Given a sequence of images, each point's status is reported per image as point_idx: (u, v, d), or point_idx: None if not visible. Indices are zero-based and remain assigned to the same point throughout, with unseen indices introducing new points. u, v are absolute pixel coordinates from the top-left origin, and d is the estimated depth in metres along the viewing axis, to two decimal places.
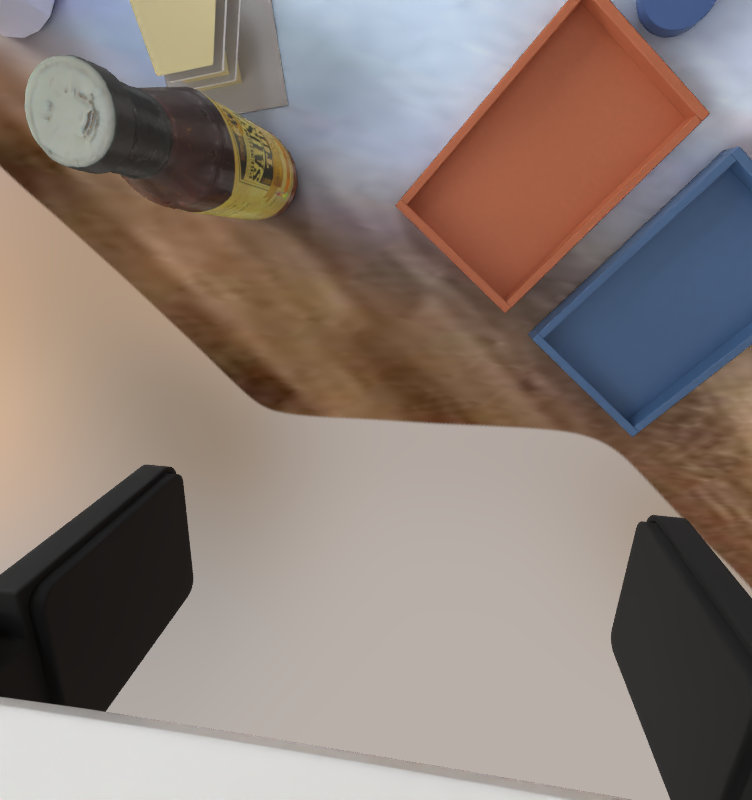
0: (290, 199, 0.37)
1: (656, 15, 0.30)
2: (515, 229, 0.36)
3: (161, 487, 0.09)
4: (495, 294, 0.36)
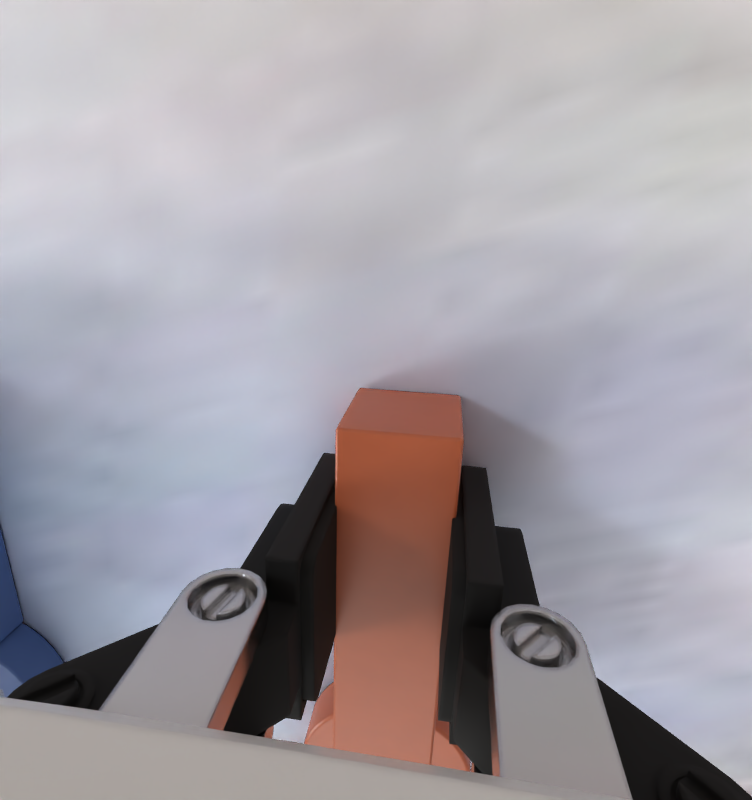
0: None
1: None
2: None
3: None
4: None
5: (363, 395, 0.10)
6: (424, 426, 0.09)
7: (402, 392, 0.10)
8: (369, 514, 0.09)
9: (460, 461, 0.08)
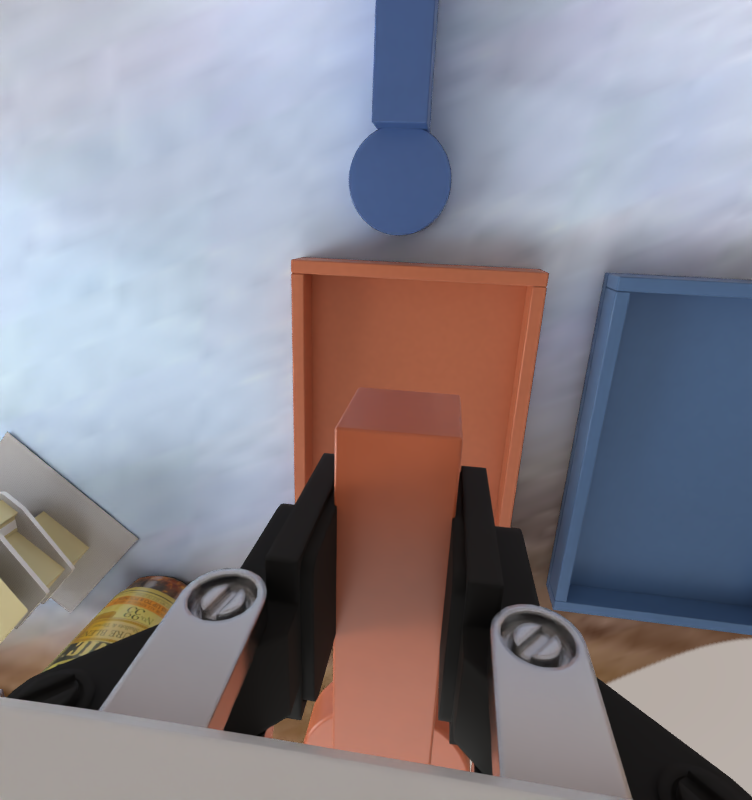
0: None
1: (396, 227, 0.22)
2: None
3: None
4: None
5: (363, 395, 0.10)
6: (423, 425, 0.09)
7: (401, 391, 0.10)
8: (368, 513, 0.09)
9: (459, 460, 0.08)
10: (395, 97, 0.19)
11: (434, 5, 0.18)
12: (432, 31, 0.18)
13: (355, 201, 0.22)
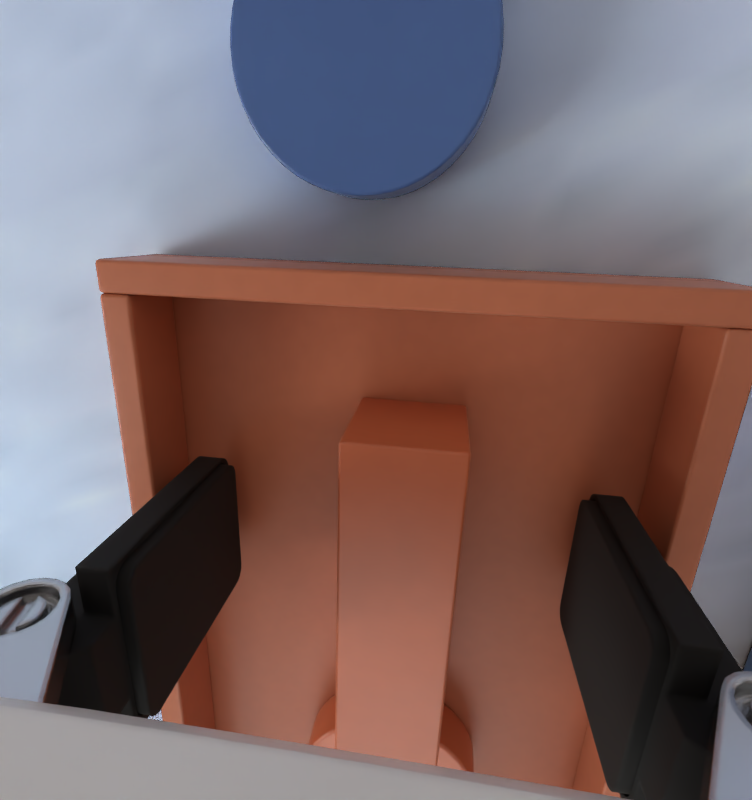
0: None
1: (359, 173, 0.08)
2: None
3: (218, 477, 0.10)
4: None
5: (367, 405, 0.10)
6: (430, 439, 0.08)
7: (406, 402, 0.10)
8: (373, 529, 0.09)
9: (467, 476, 0.08)
10: None
11: None
12: None
13: (250, 107, 0.08)
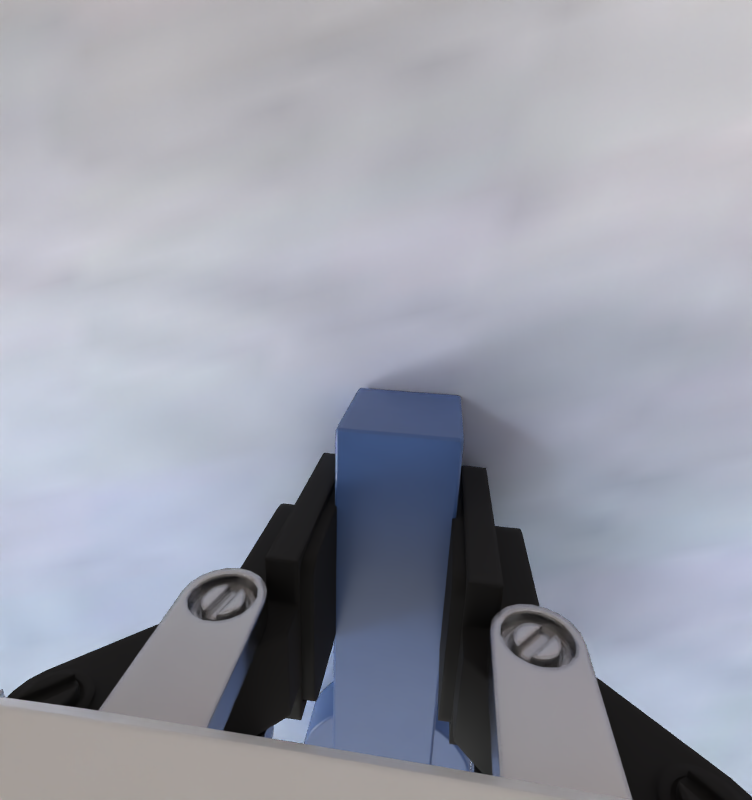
0: None
1: None
2: None
3: None
4: None
5: None
6: None
7: None
8: None
9: None
10: (374, 737, 0.11)
11: None
12: None
13: None
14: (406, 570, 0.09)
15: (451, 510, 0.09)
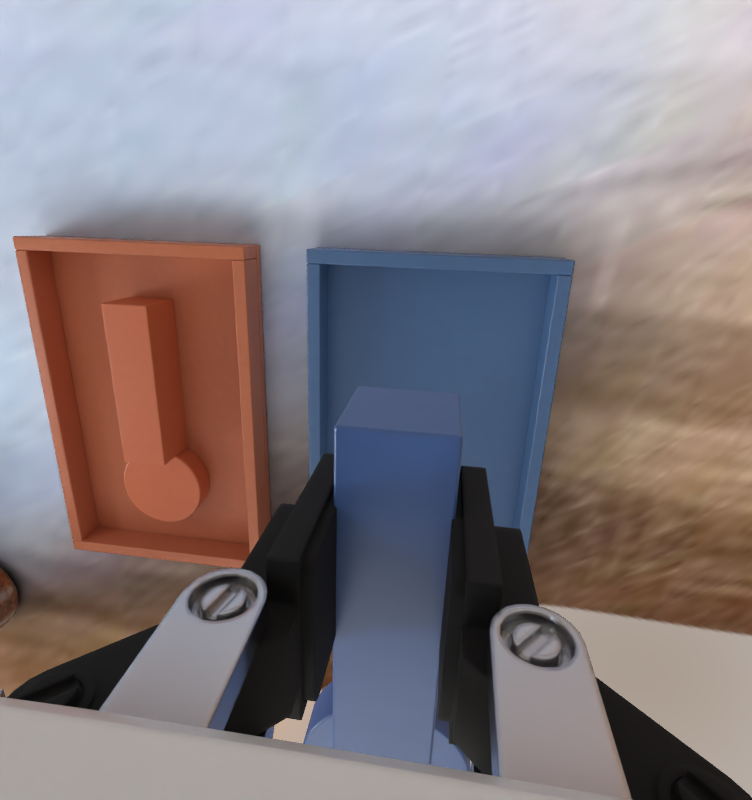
0: (8, 593, 0.32)
1: None
2: None
3: None
4: (233, 561, 0.27)
5: (129, 297, 0.24)
6: (137, 303, 0.23)
7: (148, 297, 0.24)
8: (118, 339, 0.23)
9: (146, 314, 0.22)
10: (374, 736, 0.11)
11: None
12: (438, 667, 0.10)
13: None
14: (405, 568, 0.09)
15: (450, 508, 0.09)
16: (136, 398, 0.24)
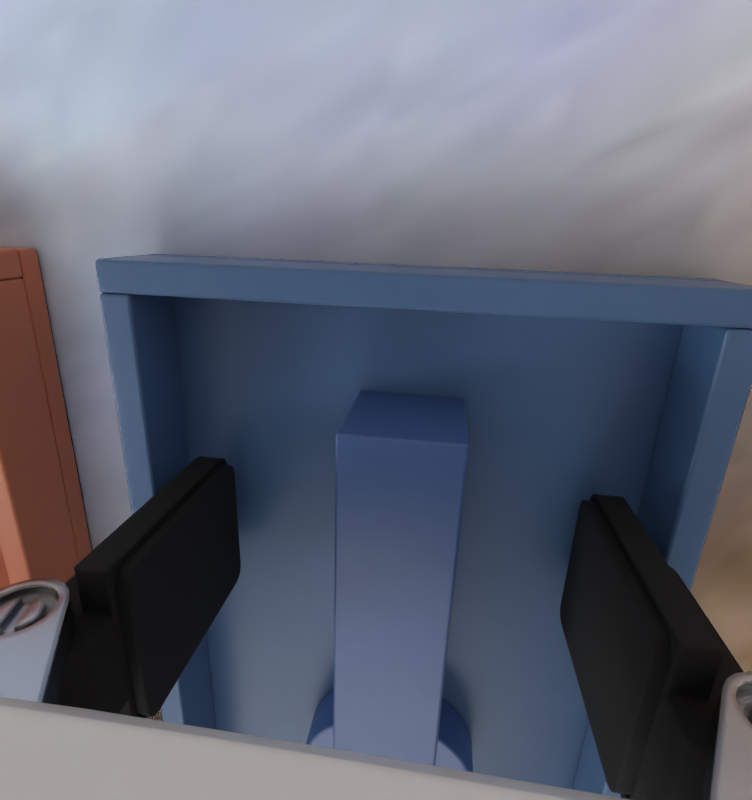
0: None
1: None
2: None
3: (218, 477, 0.10)
4: None
5: None
6: None
7: None
8: None
9: None
10: (375, 749, 0.10)
11: (446, 645, 0.09)
12: (442, 679, 0.10)
13: None
14: (408, 578, 0.09)
15: (455, 518, 0.08)
16: None
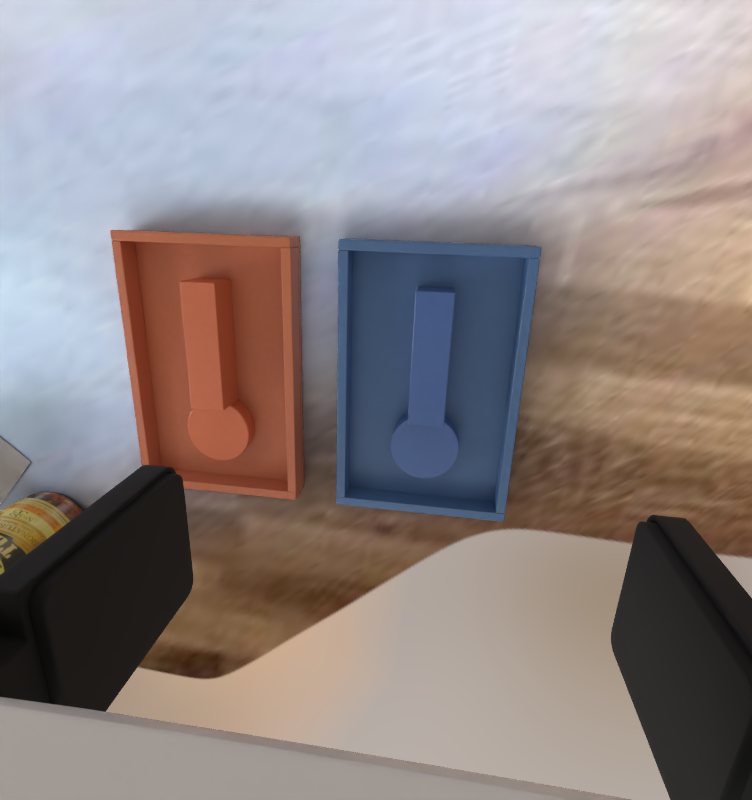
0: None
1: (422, 473, 0.32)
2: None
3: (161, 487, 0.09)
4: (274, 492, 0.34)
5: (197, 278, 0.31)
6: (206, 281, 0.29)
7: (211, 278, 0.31)
8: (191, 309, 0.30)
9: (214, 290, 0.29)
10: (423, 412, 0.30)
11: (448, 365, 0.29)
12: (447, 379, 0.29)
13: (394, 457, 0.32)
14: (436, 340, 0.28)
15: (451, 317, 0.28)
16: (203, 356, 0.31)
